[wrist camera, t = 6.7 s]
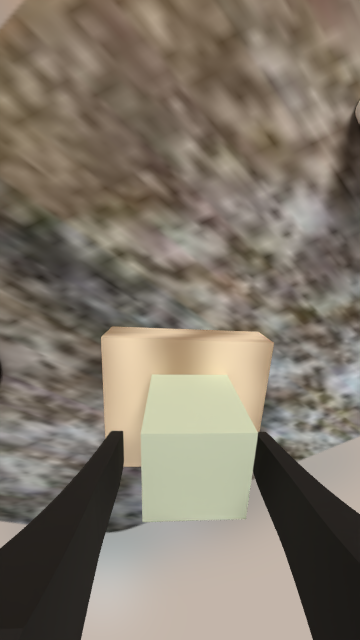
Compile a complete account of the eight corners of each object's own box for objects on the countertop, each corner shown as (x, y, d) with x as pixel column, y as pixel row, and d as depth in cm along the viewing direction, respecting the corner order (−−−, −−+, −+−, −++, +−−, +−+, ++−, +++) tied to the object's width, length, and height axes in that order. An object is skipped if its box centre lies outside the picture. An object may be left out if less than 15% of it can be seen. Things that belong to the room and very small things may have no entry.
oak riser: (255, 330, 16) (274, 343, 13) (240, 436, 18) (253, 467, 16) (114, 324, 16) (101, 337, 13) (117, 434, 18) (106, 466, 15)
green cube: (227, 374, 14) (258, 433, 9) (221, 437, 15) (245, 519, 10) (151, 374, 13) (140, 433, 9) (151, 438, 15) (142, 522, 10)
